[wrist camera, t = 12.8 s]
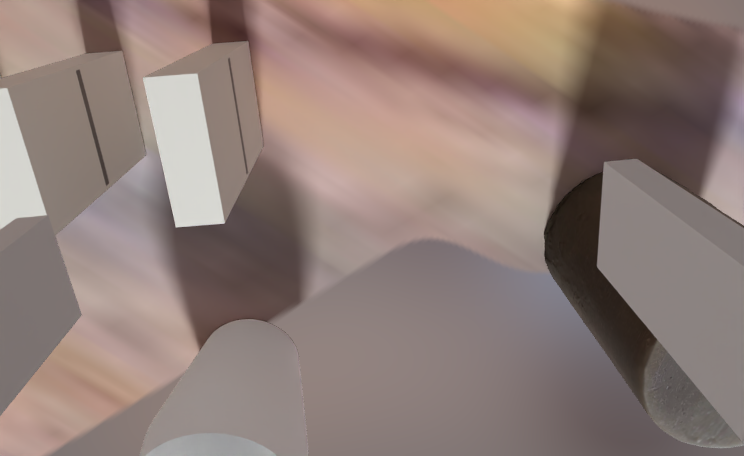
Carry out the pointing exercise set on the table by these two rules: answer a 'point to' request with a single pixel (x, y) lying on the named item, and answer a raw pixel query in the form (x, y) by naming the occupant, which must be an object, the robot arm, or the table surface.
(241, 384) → the cup
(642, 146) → the table surface
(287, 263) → the table surface
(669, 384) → the pillar candle
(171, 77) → the domino
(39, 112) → the domino
